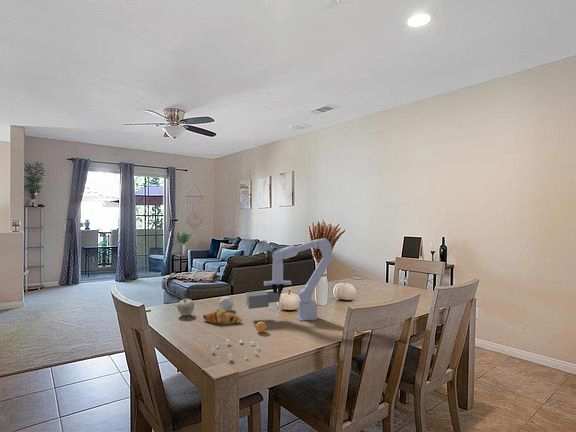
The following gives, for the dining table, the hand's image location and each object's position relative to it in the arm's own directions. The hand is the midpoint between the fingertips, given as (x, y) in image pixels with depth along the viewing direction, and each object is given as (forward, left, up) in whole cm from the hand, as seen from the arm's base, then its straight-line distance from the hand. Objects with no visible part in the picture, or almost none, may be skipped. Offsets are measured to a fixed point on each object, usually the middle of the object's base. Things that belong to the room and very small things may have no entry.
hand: (277, 298), depth 185 cm
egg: (+12, +20, -8) cm, 25 cm away
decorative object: (+48, -16, -11) cm, 51 cm away
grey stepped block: (+8, 0, -3) cm, 8 cm away
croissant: (+29, 0, -11) cm, 31 cm away
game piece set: (+26, +40, -11) cm, 49 cm away
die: (+26, -21, -11) cm, 35 cm away
